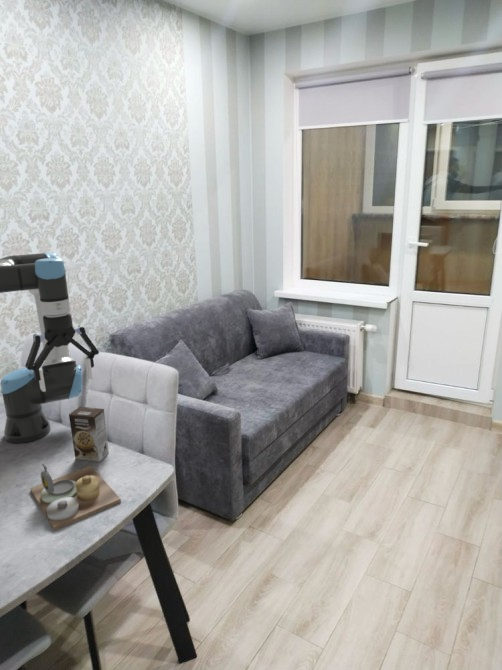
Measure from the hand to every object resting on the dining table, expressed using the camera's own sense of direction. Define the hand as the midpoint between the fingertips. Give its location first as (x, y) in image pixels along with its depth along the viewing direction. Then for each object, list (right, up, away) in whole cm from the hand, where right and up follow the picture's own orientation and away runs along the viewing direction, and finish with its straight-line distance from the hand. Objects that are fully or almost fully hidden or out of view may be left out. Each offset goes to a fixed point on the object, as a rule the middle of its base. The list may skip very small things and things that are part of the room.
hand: (67, 384), depth 140 cm
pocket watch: (-1, -30, -5) cm, 30 cm away
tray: (+4, -31, -5) cm, 32 cm away
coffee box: (+2, -25, +16) cm, 30 cm away
